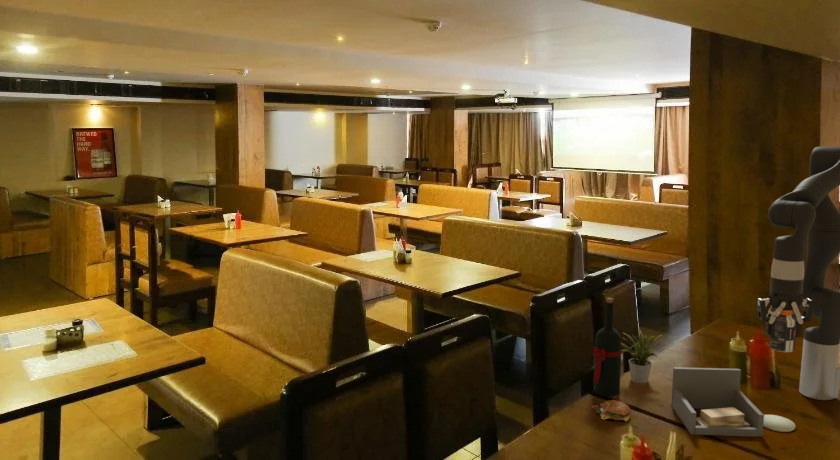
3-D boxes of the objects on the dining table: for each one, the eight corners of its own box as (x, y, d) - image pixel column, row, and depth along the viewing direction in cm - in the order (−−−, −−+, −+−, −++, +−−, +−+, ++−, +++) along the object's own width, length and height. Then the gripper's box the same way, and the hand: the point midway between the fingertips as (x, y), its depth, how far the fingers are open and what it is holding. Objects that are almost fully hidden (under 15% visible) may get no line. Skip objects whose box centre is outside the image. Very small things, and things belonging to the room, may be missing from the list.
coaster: (785, 417, 175) (785, 415, 175) (801, 432, 167) (801, 430, 167) (752, 416, 176) (752, 414, 176) (766, 431, 168) (766, 429, 167)
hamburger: (630, 405, 185) (631, 386, 184) (637, 427, 172) (638, 407, 171) (581, 402, 188) (582, 383, 187) (585, 424, 174) (586, 404, 173)
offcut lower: (739, 424, 173) (739, 416, 172) (749, 433, 168) (749, 424, 167) (693, 425, 172) (693, 417, 172) (701, 434, 167) (702, 426, 167)
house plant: (645, 368, 212) (647, 322, 210) (674, 383, 199) (676, 335, 197) (610, 374, 208) (611, 327, 205) (636, 390, 195) (639, 340, 192)
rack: (736, 407, 182) (739, 368, 180) (762, 436, 165) (766, 394, 163) (671, 405, 184) (673, 367, 182) (690, 434, 166) (693, 392, 164)
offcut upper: (732, 415, 173) (733, 407, 172) (743, 423, 168) (744, 414, 168) (700, 418, 171) (700, 409, 171) (710, 426, 167) (711, 417, 166)
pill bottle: (798, 353, 165) (801, 312, 163) (773, 352, 166) (776, 311, 164) (789, 345, 171) (792, 305, 169) (766, 344, 172) (768, 305, 170)
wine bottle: (583, 392, 193) (586, 299, 189) (603, 384, 200) (606, 293, 195) (605, 401, 187) (608, 304, 183) (624, 391, 194) (628, 298, 189)
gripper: (808, 272, 168) (803, 332, 171) (752, 272, 169) (748, 331, 172) (823, 279, 161) (818, 341, 163) (764, 279, 162) (760, 340, 165)
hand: (782, 336), depth 168 cm, fingers closed on pill bottle, 6 cm apart
